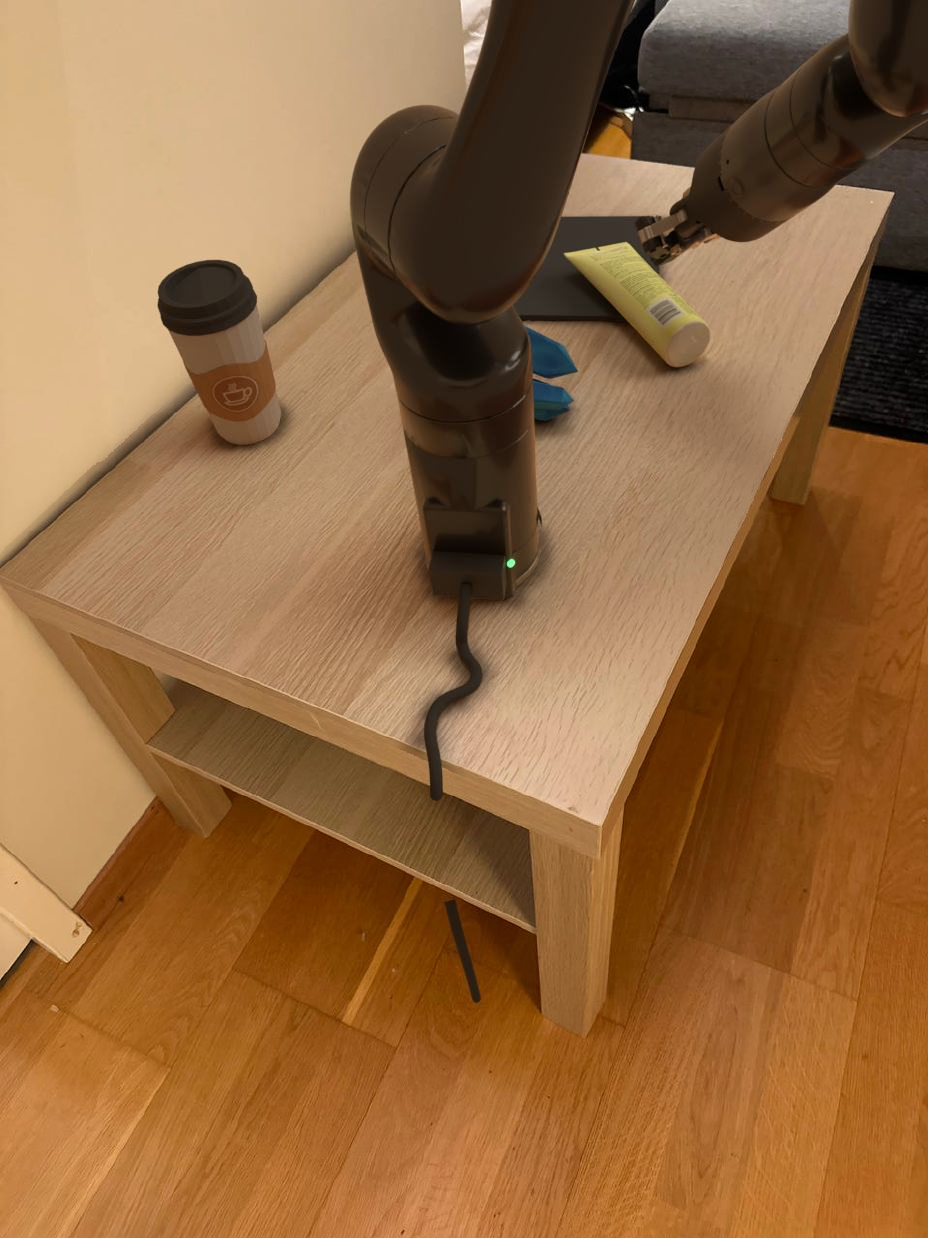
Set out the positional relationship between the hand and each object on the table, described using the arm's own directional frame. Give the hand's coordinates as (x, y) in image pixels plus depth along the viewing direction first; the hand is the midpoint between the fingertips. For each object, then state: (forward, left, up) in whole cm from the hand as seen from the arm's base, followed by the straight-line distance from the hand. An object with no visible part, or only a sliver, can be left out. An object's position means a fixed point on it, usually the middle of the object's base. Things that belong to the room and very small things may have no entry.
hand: (657, 253), depth 78 cm
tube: (-1, -4, -9) cm, 10 cm away
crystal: (-7, +11, -12) cm, 18 cm away
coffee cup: (-11, +37, -12) cm, 41 cm away
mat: (+17, +10, -11) cm, 23 cm away
